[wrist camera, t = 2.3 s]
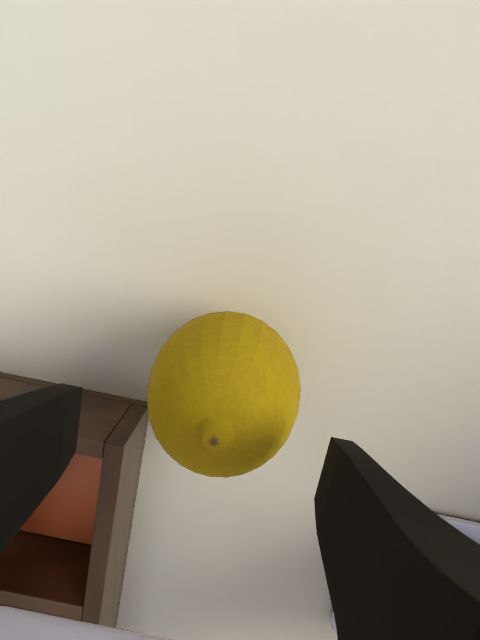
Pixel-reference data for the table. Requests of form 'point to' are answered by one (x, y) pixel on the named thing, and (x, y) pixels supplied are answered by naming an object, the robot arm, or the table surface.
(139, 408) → the caddy
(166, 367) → the lemon
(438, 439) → the table surface
